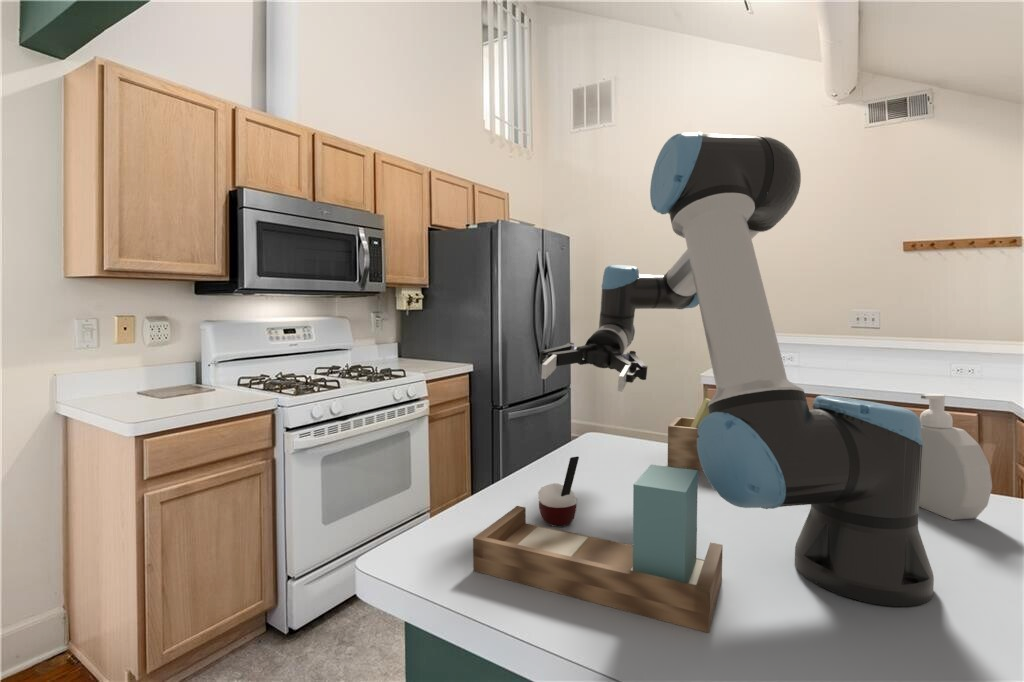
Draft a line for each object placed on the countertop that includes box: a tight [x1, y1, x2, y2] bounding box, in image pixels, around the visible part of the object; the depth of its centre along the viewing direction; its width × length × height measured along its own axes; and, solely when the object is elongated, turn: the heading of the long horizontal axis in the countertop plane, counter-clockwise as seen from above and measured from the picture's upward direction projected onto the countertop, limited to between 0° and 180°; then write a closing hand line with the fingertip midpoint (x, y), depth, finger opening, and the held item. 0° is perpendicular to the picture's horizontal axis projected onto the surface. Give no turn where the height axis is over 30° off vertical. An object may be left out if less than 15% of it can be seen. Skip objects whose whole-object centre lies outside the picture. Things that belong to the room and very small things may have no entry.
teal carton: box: [632, 464, 699, 583], centre depth 66 cm, size 6×9×12 cm
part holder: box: [667, 416, 704, 472], centre depth 116 cm, size 26×11×9 cm, turn 62°
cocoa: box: [537, 456, 580, 527], centre depth 87 cm, size 10×6×12 cm, turn 7°
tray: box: [472, 505, 723, 634], centre depth 70 cm, size 30×13×4 cm, turn 62°
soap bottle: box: [919, 393, 993, 521], centre depth 92 cm, size 16×5×20 cm, turn 8°
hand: (581, 377), depth 91 cm, fingers open, 13 cm apart
